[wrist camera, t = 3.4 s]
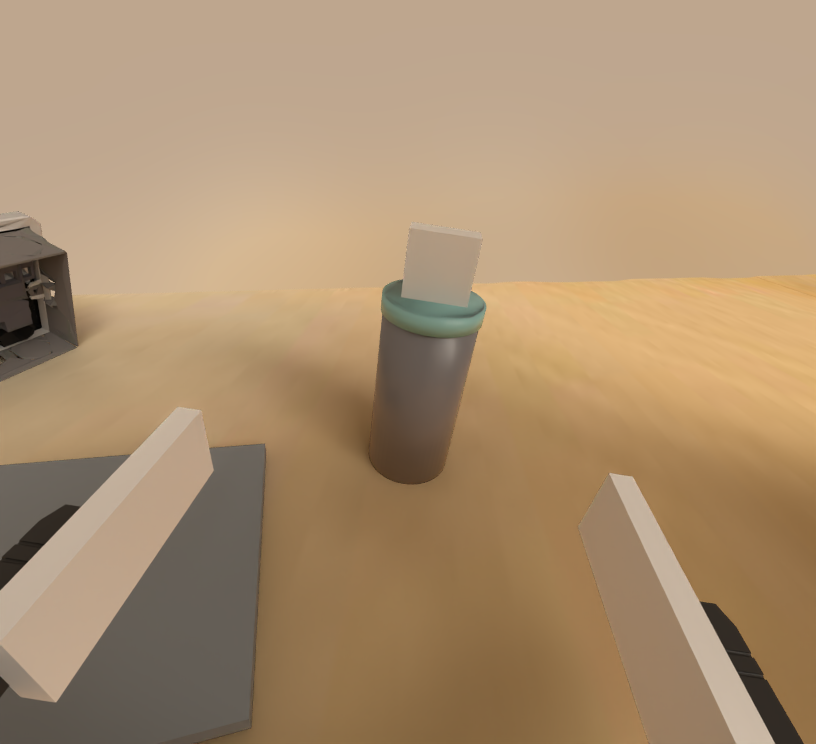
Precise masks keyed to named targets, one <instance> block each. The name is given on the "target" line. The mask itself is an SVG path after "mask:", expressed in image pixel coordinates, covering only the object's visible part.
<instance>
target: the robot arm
mask: <svg viewBox="0 0 816 744" xmlns="http://www.w3.org/2000/svg"><path fill="white" fill-rule="evenodd" d="M213 471H214V469H213V465H212V460H211V455H210V450H209V445H208V440H207V435H206V430H205V425H204V421H203V416H202V411H201V410H197V409H190V408H184V407H177V408H176V409H175V410H174V411H173V412H172V413H171V414H170V415H169V416H168V417H167V418H166V419H165V420H164V421H163V422H162V423H161V424H160V425H159V427H158V428H157V429H156V430H155V431H154V432H153V433H152V434H151V435H150V436H149V437H148V438H147V439H146V440H145V441H144V442H143V443H142V444H141V445H140V446H139V447H138V448H137V449H136V450H135V451H134V452H133V454H132V455H131V456H130V457H129V458H128V459H127V460H126V461H125V462H124V463H123V464H122V465H121V466H120V467H119V468H118V469H117V470H116V471H115V472H114V473H113V474H112V475H111V476H110V477H109V478H108V479H107V480H106V482H105V483H104V484H103V485H102V486H101V487H100V488H99V489H98V490H97V491H96V492H95V493H94V494H93V495H92V496H91V497H90V498H89V499H88V500H87V501H86V502H85V503H84V504H83V505H82V506H81V507H80V506H74V505H67V504H65V505H64V506H62V507H60V508H59V509H57V510H55V511H54V512H52V513H51V514H49V515H47V516H46V517H44V518H43V519H41V520H40V521H39V522H37V523H36V524H35V525H34V526H33V527H32V528H31V529H30V530H29V531H28V532H27V533H26V534H25V535H24V536H23V537H22V538H21V539H20V540H19V543H18V544H15V545H14V546H13V547H12V548H11V549H9V550H8V551H7V552H6V553H5V554H4V555H3V556H2V559H1V560H0V697H1V696H2V695H3V693H4V692H5V691H6V690H7V688H8V687H10V688H11V689H13V690H14V691H15V692H16V693H17V694H18V695H19V696H20V697H23V698H29V699H36V700H42V701H49V702H55V703H56V702H57V701H58V699H59V698H60V696H61V695H62V693H63V692H64V690H65V689H66V687H67V686H68V684H69V683H70V681H71V680H72V679H73V677H74V676H75V674H76V673H77V671H78V670H79V668H80V667H81V665H82V664H83V662H84V661H85V659H86V658H87V656H88V655H89V653H90V652H91V651H92V649H93V648H94V646H95V645H96V643H97V642H98V640H99V639H100V637H101V636H102V634H103V633H104V631H105V630H106V628H107V627H108V626H109V624H110V623H111V621H112V620H113V618H114V617H115V615H116V614H117V612H118V611H119V609H120V608H121V606H122V605H123V603H124V602H125V600H126V599H127V598H128V596H129V595H130V593H131V592H132V590H133V589H134V587H135V586H136V584H137V583H138V581H139V580H140V578H141V577H142V575H143V574H144V572H145V571H146V570H147V568H148V567H149V565H150V564H151V562H152V561H153V559H154V558H155V556H156V555H157V553H158V552H159V550H160V549H161V547H162V546H163V545H164V543H165V542H166V540H167V539H168V537H169V536H170V534H171V533H172V531H173V530H174V528H175V527H176V525H177V524H178V522H179V521H180V519H181V518H182V517H183V515H184V514H185V512H186V511H187V509H188V508H189V506H190V505H191V503H192V502H193V500H194V499H195V497H196V496H197V494H198V493H199V492H200V490H201V489H202V487H203V486H204V484H205V483H206V481H207V480H208V478H209V477H210V475H211V474H212V472H213ZM578 529H579V532H580V535H581V538H582V541H583V545H584V548H585V551H586V554H587V557H588V560H589V563H590V566H591V569H592V572H593V575H594V578H595V581H596V584H597V587H598V590H599V593H600V596H601V599H602V602H603V606H604V609H605V612H606V615H607V618H608V621H609V624H610V627H611V630H612V633H613V636H614V639H615V642H616V645H617V648H618V651H619V654H620V657H621V660H622V663H623V667H624V670H625V673H626V676H627V679H628V682H629V685H630V688H631V691H632V694H633V697H634V700H635V703H636V706H637V709H638V712H639V715H640V718H641V721H642V725H643V728H644V731H645V734H646V737H647V740H648V743H649V744H804V743H803V742H802V740H801V738H800V736H799V735H798V733H797V731H796V730H795V728H794V726H793V724H792V723H791V721H790V719H789V718H788V716H787V714H786V712H785V711H784V709H783V707H782V705H781V704H780V702H779V700H778V699H777V697H776V695H775V693H774V692H773V690H772V688H771V686H770V685H769V683H768V681H767V680H765V679H764V678H763V673H762V671H761V669H760V667H759V666H758V664H757V662H756V661H755V659H754V658H752V657H751V652H750V650H749V648H748V647H747V645H746V643H745V642H744V640H743V638H742V636H741V635H740V633H739V631H738V629H737V628H736V626H735V625H734V624H733V623H732V622H731V621H730V620H729V619H728V617H727V616H726V615H725V614H724V613H723V612H722V611H721V610H720V608H719V607H718V606H717V605H716V604H713V603H706V602H700V601H699V600H698V598H697V596H696V594H695V592H694V590H693V589H692V587H691V585H690V583H689V581H688V579H687V577H686V575H685V574H684V572H683V570H682V568H681V566H680V564H679V562H678V560H677V559H676V557H675V555H674V553H673V551H672V549H671V547H670V545H669V544H668V542H667V540H666V538H665V536H664V534H663V532H662V530H661V529H660V527H659V525H658V523H657V521H656V519H655V517H654V515H653V514H652V512H651V510H650V508H649V506H648V504H647V502H646V500H645V499H644V497H643V495H642V493H641V491H640V489H639V487H638V485H637V483H636V482H635V480H634V478H633V477H632V476H626V475H619V474H613V473H609V474H608V475H607V477H606V479H605V481H604V482H603V484H602V486H601V488H600V489H599V491H598V493H597V494H596V496H595V498H594V500H593V501H592V503H591V505H590V506H589V508H588V510H587V512H586V513H585V515H584V517H583V518H582V520H581V522H580V524H579V525H578Z"/></svg>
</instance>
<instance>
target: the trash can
mask: <svg viewBox="0 0 816 744" xmlns="http://www.w3.org/2000/svg"><path fill="white" fill-rule="evenodd" d="M482 240H483V239H482V235H481V233H480V232H475V231H467V230H462V229H455V228H449V227H442V226H436V225H429V224H422V223H416V222H412V223H411V225H410V228H409V236H408V244H407V252H406V260H405V268H404V276H403V279H402V280H397V281H394V282H391V283H389V284H388V285H386V286H385V287H384V289H383V292H382V301H381V312H382V324H381V334H380V344H379V354H378V364H377V374H376V384H375V394H374V404H373V415H372V425H371V435H370V445H369V458H370V461H371V463H372V465H373V466H374V468H375V469H376V470H377V471H378V472H379V473H380V474H382V475H383V476H384V477H386V478H388V479H390V480H392V481H395V482H398V483H403V484H420V483H425V482H428V481H430V480H432V479H434V478H435V477H437V476H438V475H439V474H440V473H441V471H442V470H443V468H444V465H445V461H446V457H447V453H448V449H449V445H450V442H451V438H452V434H453V430H454V426H455V422H456V418H457V414H458V410H459V406H460V402H461V398H462V394H463V390H464V386H465V382H466V378H467V374H468V370H469V366H470V362H471V358H472V354H473V350H474V346H475V342H476V338H477V334H478V330H479V329H480V328H481V326H482V323H483V319H484V315H485V311H486V303H485V302H484V300H483V299H482V298H481V297H480V296H479V295H477V294H476V293H474V292H472V291H471V289H472V284H473V280H474V276H475V271H476V267H477V262H478V258H479V253H480V249H481V245H482Z"/></svg>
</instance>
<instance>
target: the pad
mask: <svg viewBox="0 0 816 744" xmlns="http://www.w3.org/2000/svg"><path fill="white" fill-rule="evenodd" d="M209 450H210V455H211V460H212V465H213V469H214V471H213V472H212V474H211V475H210V477H209V478H208V480H207V481H206V483H205V484H204V486H203V487H202V489H201V490H200V492H199V493H198V494H197V496H196V497H195V499H194V500H193V502H192V503H191V505H190V506H189V508H188V509H187V511H186V512H185V514H184V515H183V517H182V518H181V519H180V521H179V522H178V524H177V525H176V527H175V528H174V530H173V531H172V533H171V534H170V536H169V537H168V539H167V540H166V542H165V543H164V545H163V546H162V547H161V549H160V550H159V552H158V553H157V555H156V556H155V558H154V559H153V561H152V562H151V564H150V565H149V567H148V568H147V570H146V571H145V572H144V574H143V575H142V577H141V578H140V580H139V581H138V583H137V584H136V586H135V587H134V589H133V590H132V592H131V593H130V595H129V596H128V598H127V599H126V600H125V602H124V603H123V605H122V606H121V608H120V609H119V611H118V612H117V614H116V615H115V617H114V618H113V620H112V621H111V623H110V624H109V626H108V627H107V628H106V630H105V631H104V633H103V634H102V636H101V637H100V639H99V640H98V642H97V643H96V645H95V646H94V648H93V649H92V651H91V652H90V653H89V655H88V656H87V658H86V659H85V661H84V662H83V664H82V665H81V667H80V668H79V670H78V671H77V673H76V674H75V676H74V677H73V679H72V680H71V681H70V683H69V684H68V686H67V687H66V689H65V690H64V692H63V693H62V695H61V696H60V698H59V699H58V701H57V702H56V703H55V702H49V701H42V700H36V699H29V698H23V697H20V696H19V695H18V694H17V693H16V692H15V691H14V690H13V689H11V688H10V687H8V688H7V690H6V691H5V692H4V693H3V695H2V696H1V697H0V744H194V743H198V742H202V741H205V740H209V739H213V738H216V737H220V736H224V735H227V734H231V733H235V732H238V731H242V730H246V729H249V728H251V724H252V705H253V687H254V668H255V650H256V631H257V613H258V594H259V576H260V557H261V539H262V520H263V501H264V483H265V464H266V449H265V444H255V445H243V446H231V447H219V448H209ZM130 456H131V455H120V456H108V457H96V458H84V459H71V460H59V461H47V462H35V463H22V464H10V465H0V560H1V559H2V556H3V555H4V554H5V553H6V552H7V551H8V550H9V549H11V548H12V547H13V546H14V545H15V544H18V543H19V540H20V539H21V538H22V537H23V536H24V535H25V534H26V533H27V532H28V531H29V530H30V529H31V528H32V527H33V526H34V525H35V524H36V523H37V522H39V521H40V520H41V519H43V518H44V517H46V516H47V515H49V514H51V513H52V512H54V511H55V510H57V509H59V508H60V507H62V506H64V505H65V504H67V505H74V506H80V507H81V506H82V505H83V504H84V503H85V502H86V501H87V500H88V499H89V498H90V497H91V496H92V495H93V494H94V493H95V492H96V491H97V490H98V489H99V488H100V487H101V486H102V485H103V484H104V483H105V482H106V480H107V479H108V478H109V477H110V476H111V475H112V474H113V473H114V472H115V471H116V470H117V469H118V468H119V467H120V466H121V465H122V464H123V463H124V462H125V461H126V460H127V459H128V458H129V457H130Z"/></svg>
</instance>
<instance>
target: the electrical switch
mask: <svg viewBox="0 0 816 744" xmlns="http://www.w3.org/2000/svg"><path fill="white" fill-rule="evenodd" d="M49 279H50V280H51V281H53V282H55V283H52V282H50V281H49ZM50 290H54V291H55V296H54V297H52V296H51V292H50ZM65 340H66V341H65ZM67 341H68V342H67ZM47 342H48V343H47ZM69 342H70V343H72V344H74V345H76V346H78V342H77V334H76V325H75V317H74V309H73V300H72V293H71V283H70V277H69V267H68V258H67V253H66V252H65V251H64V250H62V249H60V248H58V247H56V246H54V245H52V244H50V243H49V242H47V241H46V240H45V239H44V238H43V237H42V230H41V224H40V223H39V222H38V221H37V220H36V219H34V218H32V217H30V216H28V215H25V214H23V213H21V212H19V211H18V212H10V213H3V214H0V356H2V357H3V358H4V359H5V360H6V361H5V362H4V363H3V364H0V382H1V381H3V380H5V379H7V378H10V377H12V376H14V375H16V374H19V373H21V372H23V371H25V370H28V369H30V368H32V367H34V366H37V365H39V364H41V363H43V362H46V361H48V360H50V359H52V358H55V357H57V356H59V355H61V354H64V353H66V352H68V351H70V350H73V349H75V348H77V347H75V346H74V345H72V344H70V343H69ZM49 343H50V344H49ZM10 351H11V352H10ZM12 352H13V353H12ZM50 352H51V353H50ZM15 354H16V355H17V356H19V357H21V358H23V359H20V358H17V357H16V355H15ZM31 359H34V360H31Z"/></svg>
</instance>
